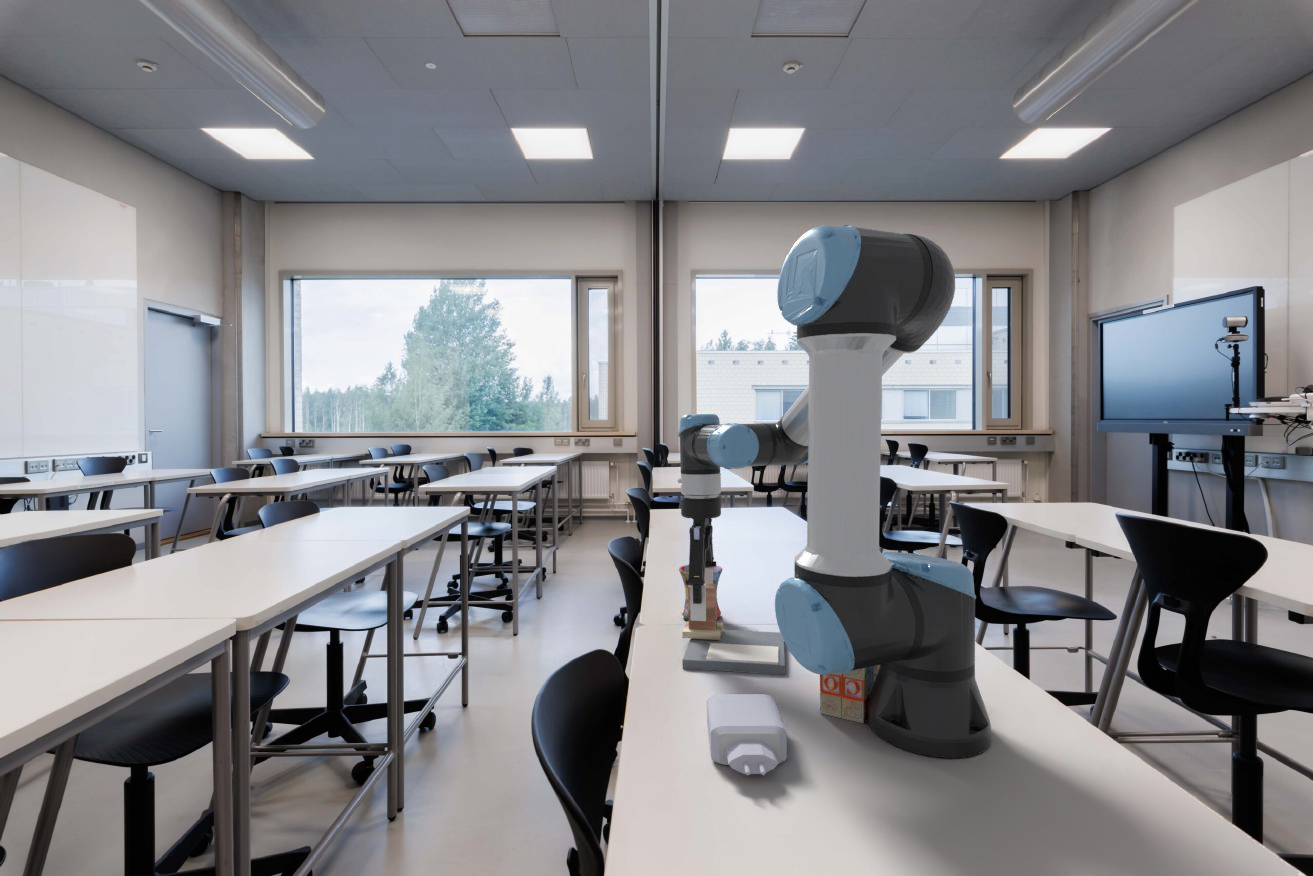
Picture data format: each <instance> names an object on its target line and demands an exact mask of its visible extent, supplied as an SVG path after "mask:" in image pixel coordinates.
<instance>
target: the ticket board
mask: <svg viewBox="0 0 1313 876" xmlns="http://www.w3.org/2000/svg"><path fill="white" fill-rule="evenodd" d="M681 660H682V669H690V670H704V671H720V672H721V671H722V672H737V673H740V672H741V673H753V674H754V673H756V674H769V675H783V676H784V675H786V674H785V673H786V672H785V670H786V669H785V666H786V665H785V642H784V640H783V638H782V635H781V633H780V631H779V632H774V631H757V630H756V631H755V630H754V631H753V630H738V629H737V630H733V629H723V631H722V635H721V639H720V640H711V639H692V638H690V640H689V642H688V645H687V647H686V650H685V652H684V655H683V657H682V659H681Z"/></svg>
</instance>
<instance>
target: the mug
mask: <svg viewBox="0 0 1313 876" xmlns="http://www.w3.org/2000/svg"><path fill="white" fill-rule="evenodd" d="M710 568H713V584H716V594H717V592H718V585H719V582H720V581H719V579H720V577H721V574H722V572H723V567H722V566H719V565H717V564H716V567H710ZM678 571H679V573H680V575H681V578H682V581H683V586H684V589H685V590H684V593H685V598H684V599H685V600H684V606H683V608H682V610H681V615H682V616H683V618H685V619H687V620H689V608H688V586H689V585H686V580H688V579H689V564H685V565H681V566H680V567H679V568H678ZM694 577H699V576H694ZM717 595H718V594H717ZM718 603H719V602H717V619H718V618H720V617H721V615H722V611H721V610H720V606H719V604H718Z"/></svg>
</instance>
